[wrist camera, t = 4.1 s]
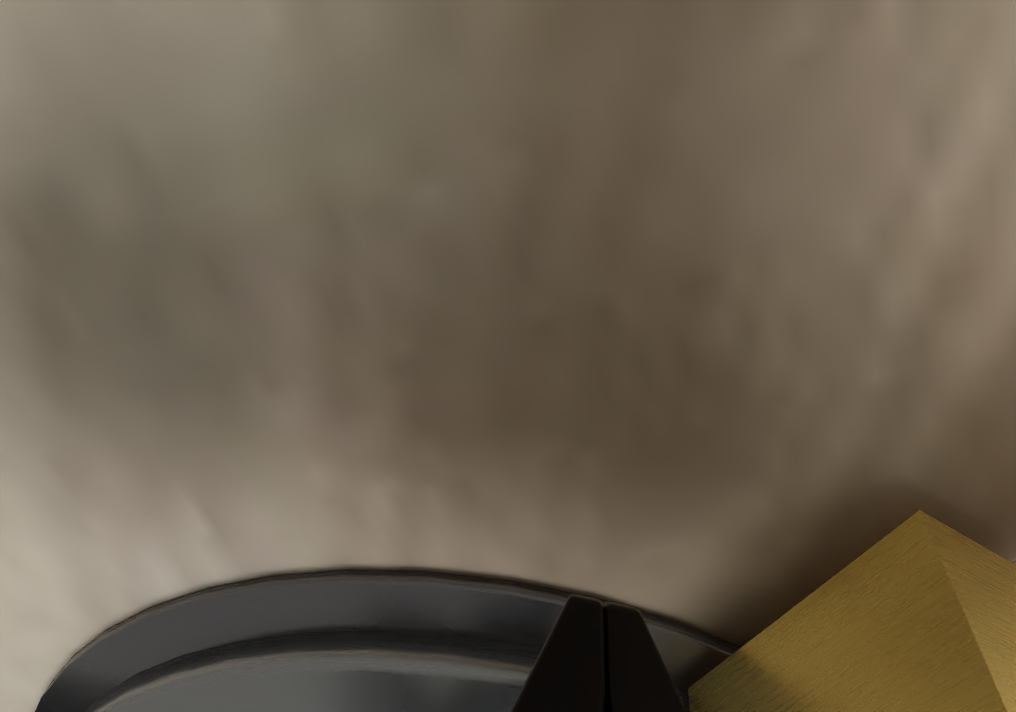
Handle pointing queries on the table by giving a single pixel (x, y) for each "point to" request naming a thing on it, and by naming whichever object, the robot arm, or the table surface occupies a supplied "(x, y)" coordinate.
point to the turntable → (709, 702)
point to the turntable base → (347, 623)
